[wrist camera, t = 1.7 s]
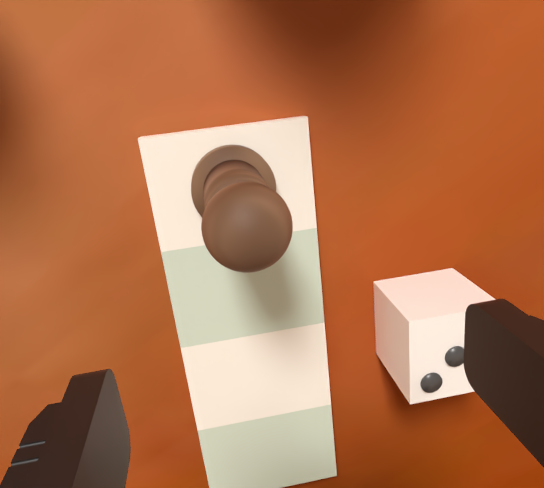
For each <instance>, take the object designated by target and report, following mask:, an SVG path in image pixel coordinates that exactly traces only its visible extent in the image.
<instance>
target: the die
mask: <svg viewBox="0 0 544 488" xmlns="http://www.w3.org/2000/svg"><path fill="white" fill-rule="evenodd" d="M373 286H374V312H375V337H376V354H377V355H378V357H379V358H380V360H381V361H382V363H383V365H384V366H385V368H386V369H387V371H388V372H389V374H390V375H391V377H392V378H393V380H394V381H395V383H396V384H397V386H398V387H399V389H400V390H401V392H402V393H403V395H404V396H405V398H406V399H407V401H408V402H409V404H415V403H420V402H425V401H430V400H434V399H439V398H444V397H449V396H454V395H459V394H464V393H469V392H474V390H473V388H472V387H471V385H470V384H469V382H468V379H467V377H466V374H465V370H464V334H465V312H466V309H467V307H468V306H469V305H470V304H474V303H480V302H485V301H491V300H496V299H494V298H493V297H491V296H490V295H489V294H487V293H486V292H485V291H483V290H482V289H481V288H479V287H478V286H476V285H475V284H474V283H472V282H471V281H470V280H468V279H467V278H465V277H464V276H463V275H461V274H460V273H459V272H457V271H456V270H455V269H453V268H450V269H444V270H438V271H432V272H427V273H421V274H415V275H409V276H403V277H397V278H391V279H385V280H380V281H374V282H373Z"/></svg>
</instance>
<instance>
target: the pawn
mask: <svg viewBox="0 0 544 488" xmlns="http://www.w3.org/2000/svg"><path fill="white" fill-rule="evenodd" d="M191 196H192V200H193V203H194V206H195V208H196V210H197V212H198V213H199V214H200V216H201V217H202V224H201V230H202V237H203V241H204V243H205V246H206V248H207V250H208V251H209V253H210V254H211V255H212V257H213V258H214V259H215V260H216V261H217V262H218V263H220V264H221V265H223V266H224V267H226V268H228V269H231V270H233V271H237V272H243V273H250V272H257V271H261V270H264V269H266V268H268V267H270V266H272V265H273V264H275V263H276V262H277V261H278V260H279V259H280V258H281V257H282V256H283V254H284V253H285V252H286V250H287V248H288V246H289V244H290V241H291V237H292V231H293V223H292V216H291V213H290V210H289V208H288V206H287V204H286V203H285V201H284V199H283V198H282V197H281V196H280V195H279V194H278V193H277V192H276V181H275V177H274V174H273V172H272V170H271V168H270V166H269V165H268V163H267V162H266V161H265V160H264V159H263V158H262V157H261V156H260V155H259V154H258V153H257V152H255V151H254V150H252V149H250V148H248V147H245V146H241V145H224V146H220V147H217V148H215V149H213V150H211V151H209V152H208V153H207V154H205V155H204V156H203V157H202V158H201V160H200V161H199V162H198V164H197V165H196V167H195V169H194V172H193V175H192V180H191Z"/></svg>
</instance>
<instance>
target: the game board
mask: <svg viewBox="0 0 544 488" xmlns="http://www.w3.org/2000/svg"><path fill="white" fill-rule="evenodd" d="M138 142H139V147H140V152H141V157H142V161H143V166H144V171H145V176H146V181H147V186H148V191H149V196H150V200H151V205H152V210H153V215H154V220H155V225H156V230H157V235H158V239H159V244H160V249H161V254H162V259H163V264H164V269H165V274H166V278H167V283H168V288H169V293H170V298H171V303H172V308H173V313H174V317H175V322H176V327H177V332H178V337H179V342H180V347H181V352H182V356H183V361H184V366H185V371H186V376H187V381H188V386H189V391H190V395H191V400H192V405H193V410H194V415H195V420H196V425H197V430H198V434H199V439H200V444H201V449H202V454H203V459H204V464H205V469H206V473H207V478H208V483H209V488H282V487H287V486H292V485H296V484H301V483H306V482H310V481H315V480H320V479H324V478H329V477H334V476H337V471H336V459H335V446H334V434H333V422H332V409H331V397H330V385H329V372H328V360H327V348H326V336H325V323H324V311H323V299H322V286H321V274H320V262H319V249H318V237H317V225H316V212H315V200H314V188H313V175H312V163H311V151H310V139H309V126H308V117H306V116H298V117H290V118H283V119H275V120H267V121H259V122H252V123H244V124H236V125H228V126H221V127H213V128H205V129H197V130H189V131H182V132H174V133H166V134H158V135H151V136H143V137H139V138H138ZM224 145H241V146H245V147H248V148H250V149H252V150H254V151H255V152H257V153H258V154H259V155H260V156H261V157H262V158H263V159H264V160H265V161H266V162H267V163H268V165H269V166H270V168H271V170H272V172H273V174H274V177H275V181H276V192H277V193H278V194H279V195H280V196H281V197H282V198H283V199H284V201H285V203H286V204H287V206H288V208H289V210H290V213H291V216H292V223H293V231H292V237H291V241H290V244H289V246H288V248H287V250H286V252H285V253H284V254H283V256H282V257H281V258H280V259H279V260H278V261H277V262H276V263H275V264H273V265H272V266H270V267H268V268H266V269H264V270H261V271H257V272H250V273H243V272H237V271H233V270H231V269H228V268H226V267H224V266H223V265H221V264H220V263H218V262H217V261H216V260H215V259H214V258H213V257H212V255H211V254H210V253H209V251H208V250H207V248H206V246H205V243H204V241H203V237H202V230H201V224H202V217H201V216H200V214H199V213H198V212H197V210H196V208H195V206H194V203H193V200H192V196H191V180H192V175H193V172H194V169H195V167H196V165H197V164H198V162H199V161H200V160H201V158H202V157H203V156H204V155H205V154H207V153H208V152H209V151H211V150H213V149H215V148H217V147H220V146H224Z"/></svg>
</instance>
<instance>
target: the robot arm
mask: <svg viewBox="0 0 544 488" xmlns="http://www.w3.org/2000/svg"><path fill="white" fill-rule="evenodd" d="M464 370H465V374H466V377H467V379H468V382H469V384H470V385H471V387H472V388H473V390H474V391H475V392H476V393H477V394H478V395H479V396H480V398H481V399H482V400H483V401H484V402H485V403H486V404H487V405H488V406H489V407H490V409H491V410H492V411H493V412H494V413H495V414H496V415H497V416H498V417H499V419H500V420H501V421H502V422H503V423H504V424H505V425H506V426H507V427H508V428H509V430H510V431H511V432H512V433H513V434H514V435H515V436H516V437H517V438H518V439H519V441H520V442H521V443H522V444H523V445H524V446H525V447H526V448H527V449H528V451H529V452H530V453H531V454H532V455H533V456H534V457H535V458H536V459H537V460H538V462H539V463H540V464H541V465H542V466H543V467H544V320H541V319H539V318H536V317H533V316H531V315H530V316H528V315H527V314H526V313H524V312H523V311H521V310H520V309H518V308H517V307H516V306H514V305H513V304H511V303H510V302H508V301H507V300H505V299H496V300H491V301H485V302H480V303H474V304H470V305H469V306H468V307H467V309H466V312H465V334H464ZM19 446H20V448H19V449H17V451H16V453H15V455H14V457H13V459H12V461H11V467H9V468H8V470H7V472H6V474H5V476H4V478H3V480H2V482H1V485H0V488H125V485H126V479H127V473H128V467H129V461H130V435H129V429H128V425H127V421H126V417H125V413H124V410H123V406H122V402H121V398H120V395H119V391H118V387H117V383H116V380H115V376H114V374H113V372H112V370H111V369H106V370H100V371H95V372H89V373H84V374H78V375H74V376H72V378H71V380H70V382H69V385H68V387H67V389H66V392H65V394H64V397H63V399H62V402H60V403H55V404H49V405H47V406H46V407H45V408H44V409H43V411H42V412H41V413H40V414H39V415H38V416H37V417H36V418H35V419H34V420H33V421H32V422H31V423H30V424H29V426H28V428H27V430H26V432H25V434H24V436H23V438H22V440H21V442H20V445H19Z"/></svg>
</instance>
